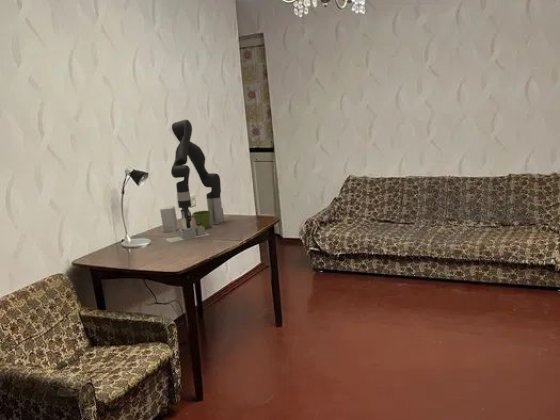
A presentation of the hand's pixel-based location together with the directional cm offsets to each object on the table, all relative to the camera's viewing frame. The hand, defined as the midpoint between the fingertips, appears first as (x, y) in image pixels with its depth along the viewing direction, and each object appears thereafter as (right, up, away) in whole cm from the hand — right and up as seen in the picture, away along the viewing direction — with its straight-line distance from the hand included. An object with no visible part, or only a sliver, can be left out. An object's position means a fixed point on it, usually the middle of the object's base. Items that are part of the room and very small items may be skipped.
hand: (187, 227), depth 312 cm
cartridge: (0, -5, +1) cm, 5 cm away
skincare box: (-16, -4, +27) cm, 32 cm away
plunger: (+7, -4, +4) cm, 9 cm away
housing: (0, -7, +2) cm, 7 cm away
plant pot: (+6, -3, +23) cm, 24 cm away
